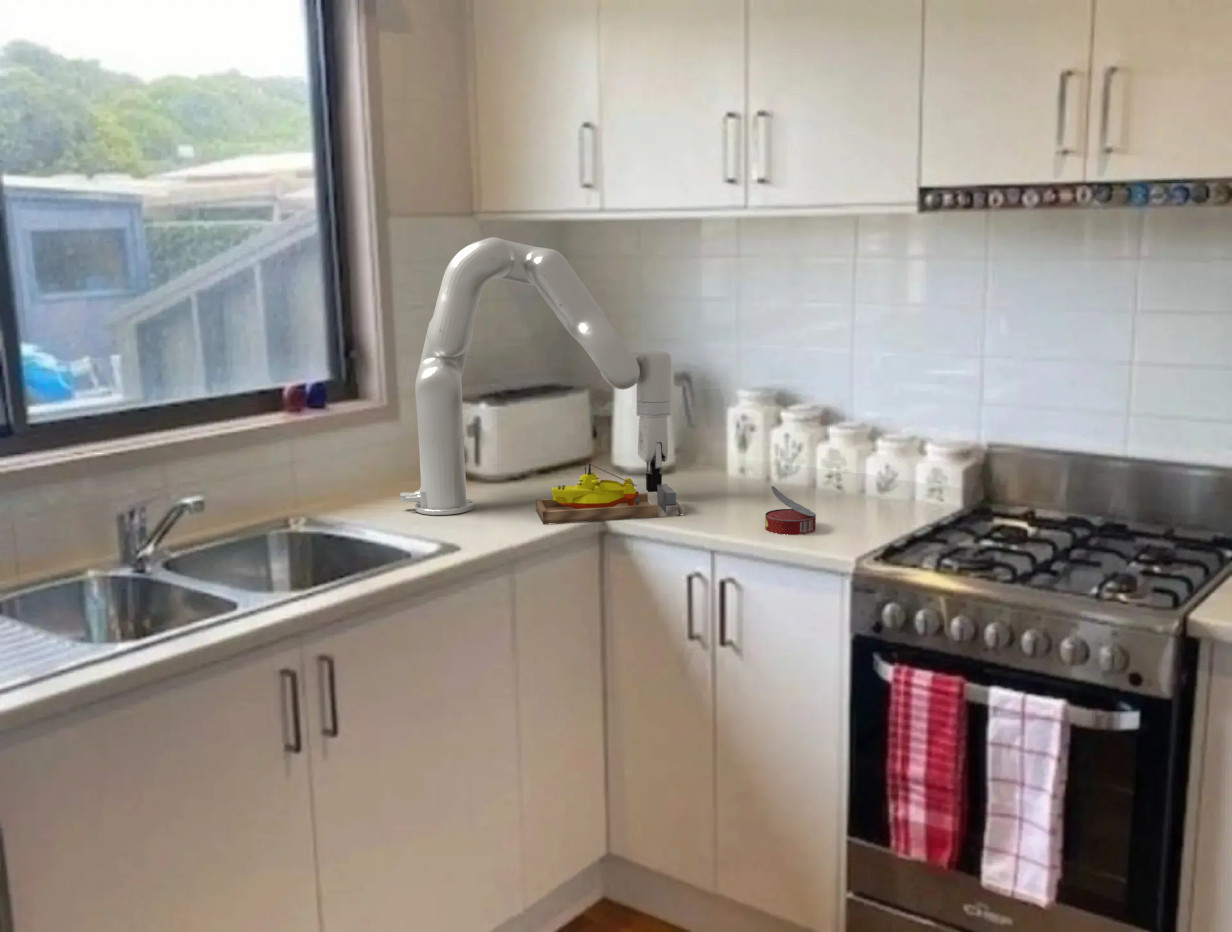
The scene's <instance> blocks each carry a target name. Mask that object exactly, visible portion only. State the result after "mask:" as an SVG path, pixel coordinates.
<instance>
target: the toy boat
mask: <svg viewBox="0 0 1232 932" xmlns="http://www.w3.org/2000/svg"><path fill="white" fill-rule="evenodd" d="M591 467H594V468H596V469H598V470H601V471H602V472H605V473H607V474H610V475H611V476H613V477H615V478H618V479H619V480H622V481H623V483H621V482H619V481H616V480H611V479H601V480H600V476H599V475H598V476H597V475H596V473H594V472H592V470H591V469H592V468H591ZM637 486H638V485H637V484H635V483H634V481H633V480H632V479H631V478H628V477H627V478H625V479H624V478H622V477H620V476H617V475H615V474H613V473H611V472H609V471H606V470H604V469H602V468H600V467H599V466H596V465H594V464H591V463H589V464H588V472H587V467H586V466H585V467H584V474H581V476H580V478H579V480H578V481H577V483H576V485H558V486H553V487H552V488H551V493H552V499H553V500H554V501H555V502H557V503H559V504H560V505H562V506H567V507H572V508H574V509H586V508H603V507H613V506H615V505H617V504H619V503H622V502H627V503H628V505H629V506H633V499H634V498H636V497H637V495H638V494H639V493H640V492H639V491H637V490H636V489H637V488H636V487H637ZM636 505H639V498H636Z"/></svg>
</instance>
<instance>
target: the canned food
mask: <svg viewBox="0 0 1232 932" xmlns="http://www.w3.org/2000/svg"><path fill="white" fill-rule="evenodd" d="M770 487H771V488H770V490H771V491H772V494H774V496H775V497H776V498H777V499H778V500H779V501H780V502H781V503H782V504H783V505H785V506H786V507H788V508H779V509H778V508H777V509H772V510H769V511H767V512H766V513H765V515H764V517H765V519H764V520H765V521H764V522H765V523H764V524H765V527H764V528H765V530H766V531H767V532H769V533H771V532H773V533H772V534H775V533H777V535H782V534H785V536H800V535H801V534H802V535H806V534H811V533H813V532H815V531H816V528H817V527H816V526H817V525H816V524H817V523H816V522H817V521H816V520H817V514H816V512H813V511H812V510H811V509H809V508H806V507H805V506H803V505H801V504H800V503H797V502H796V501H794V500H793V499H791V498H789V497H787V496H786V495H784V494H783V493H781V492H780V491H779V490H778V489H777V488H776V487H775V485H770ZM787 534H788V535H787ZM799 534H800V535H799Z"/></svg>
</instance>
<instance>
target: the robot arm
mask: <svg viewBox="0 0 1232 932" xmlns="http://www.w3.org/2000/svg"><path fill="white" fill-rule="evenodd" d="M494 279H495V280H496V279H498V280H502V281H503V280H504V281H507V282H513V283H518V284H522V285H528V286H533V287H535V288H536V289H537V291H538V292H539V293H540V295H541V296H542V298H543V299H544V301H546V304H548V306H549V307H550V309H551V310H552V311H553V313H554V314H555V316H556V318H558V319H559V321H560V323H561V325H562V326H563V327H564V328H565V330H567V332H568V333H569V334H570V335H571V336H572V337H573V339H574V340H576V341H577V342H578V344H579V345H581V347H582V348H583V349H584V350H585V352H586V353H587V354H588V356H589V357H590V358H591V360H592V361H593V363H594V364H595V365H596V368H598V369H599V371H600V375H601V377H602V378H603V379H604V380H605V382H607V383H608V384H609V385H610V386H611V387H613V388H615V389H617V390H627V389H630V388H632V387H634V386H635V385H636V416H637V417H639V418H638V419H639V420H638V436H637V437H638V438H637V454H638V456H639V458H641V460H642V461H644V463H645V471H646V472H645V490H646V491H647V493H657V484H663V481H662V480H663V473H662V471H663V463H665V462H666V461H668V455H669V454H668V452H669V451H668V450H669V449H668V447H669V445H668V444H669V443H668V439H669V438H668V436H669V435H668V434H669V433H668V417H671V416H672V356H671V354H670V353H669V352H667V351H663V350H647V351H641V352H638V351H631V350H630V349H629V348H628V346H627V345H626V343H625V342H624V341H623V339H622V337H620V335H619V334H618V332H617V331H616V330H615V328H614V327H613V326H612V324H611V322H610V321H609V319H608V318H607V316H606V314H605V313H604V311H603V310H602V308H601V307H600V305H599V304H598V303H597V301H596V300H595V299H594V297H593V295H592V294H591V292H589V290H588V289H587V287H586V286H585V285H584V283H583V282H582V280H581V279H580V277H579V276H578V275H577V273H576V271H575V270H574V269H573V267H572V266H571V265H570V263H569V262H568V261H567V259H566V257H564V255H563V254H562V253H560V252H559V251H558V250H556V249H552V248H547V247H540V246H534V245H529V244H524V243H519V242H516V241H515V242H514V241H510V240H507V239H506V240H505V239H502V238H499V237H487V238H485V239H481V240H479V241H475V242H472V243H471V244H468V245H466V246H465V247H463V248H462V249H461V250H459V251H458V252H457V253H456V254H455V255H454V257H453V258H452V259H451V260H450V262H449V263H448V265H447V267H446V269H445V270H444V274H443V277H442V281H441V284H440V288H439V293H438V296H437V297H436V298H437V299H436V303H435V308H434V311H433V315H432V318H431V319H430V321H429V323H428V326H427V330H426V331H427V332H426V335H425V339H424V340H425V341H424V344H423V348H422V351H421V353H422V354H421V357H420V362H419V366H418V369H417V370H418V371H417V375H416V379H415V388H414V389H415V390H414V391H415V404H416V405H415V406H416V416H417V417H416V418H417V433H418V435H417V436H418V448H419V449H418V451H419V468H420V469H419V471H420V487H419V490H418V489H417V490H415V491H414V492H409V491H408V492H407V491H406V492H400V493H399V494H400V495H399V496H400V503H401V502H403V503H404V502H405V503H407V504H408V503H415V504H414V510H415V511H416V512H417V513H419V514H423V515H429V516H430V515H431V516H449V515H456V514H461V513H466V512H470V511H472V510H473V509H474V507H475V502H474V500H472V499H470V498H467V483H466V482H467V479H466V477H467V476H466V461H465V459H466V458H465V455H466V454H465V438H464V437H465V435H464V422H463V421H464V418H463V385H462V377H463V373H464V369H465V365H466V360H467V356H468V353H469V348H470V345H471V343H472V341H473V335H474V331H473V330H474V324H475V320H476V315H477V311H478V307H479V304H480V300H481V296H482V293H483V290H484V288H485V287H486V285H487V283H489V282H490V281H491V280H494Z"/></svg>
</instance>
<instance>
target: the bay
mask: <svg viewBox="0 0 1232 932" xmlns="http://www.w3.org/2000/svg"><path fill="white" fill-rule="evenodd" d="M648 495H649V494H648V492H641V493H640V492H639V494H638V495H637V497H636V498H639V505H636V498H634V499H633V506H629V505H628V503H627V502H622V503H619V504H617V505H615V506H613V507H603V508H586V509H574V508H572V507H567V506H562V505H560V504H559V503H557V502H555V501H554V500H553V498H540V499H539V498H537V499H535V505H536V506H535V508H536V509H535V510H536V511H535V512H536V513H537V515H538V517H539V519H540V521H541V522H542V524H543V525H550V524H549V523H556V524H571V523H570V522H572V523H586V522H603V521H615V520H616V521H617V520H632V519H631V518H635V519H648V518H659V517H660V509H659V508H660V507H659V505H658V503H655V504H651V503H649V496H648ZM665 514H666V515H667V517H673V515H680V514H684V515H685V508H684V507H683V506H682V505H681V504H679V502H677V501H676V505H674V506H666V513H665ZM666 515H665V516H666Z"/></svg>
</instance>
